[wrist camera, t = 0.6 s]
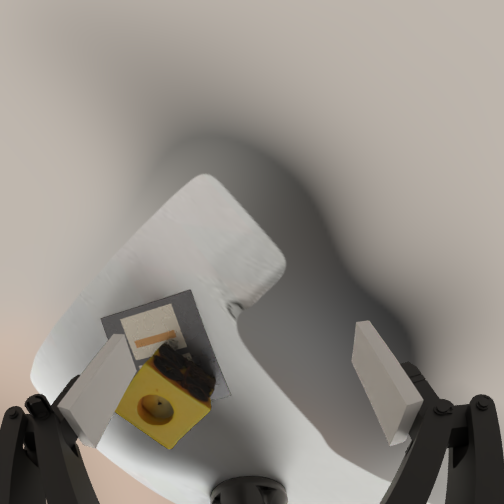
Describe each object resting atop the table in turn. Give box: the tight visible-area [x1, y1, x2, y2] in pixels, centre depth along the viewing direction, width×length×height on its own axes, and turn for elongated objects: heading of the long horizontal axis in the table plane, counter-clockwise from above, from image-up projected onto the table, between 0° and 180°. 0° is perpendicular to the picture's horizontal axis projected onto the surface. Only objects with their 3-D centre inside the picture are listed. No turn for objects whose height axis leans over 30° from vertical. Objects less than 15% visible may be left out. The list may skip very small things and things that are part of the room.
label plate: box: [101, 290, 231, 401], centre depth 39 cm, size 18×16×1 cm
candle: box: [115, 343, 216, 449], centre depth 34 cm, size 10×10×10 cm
